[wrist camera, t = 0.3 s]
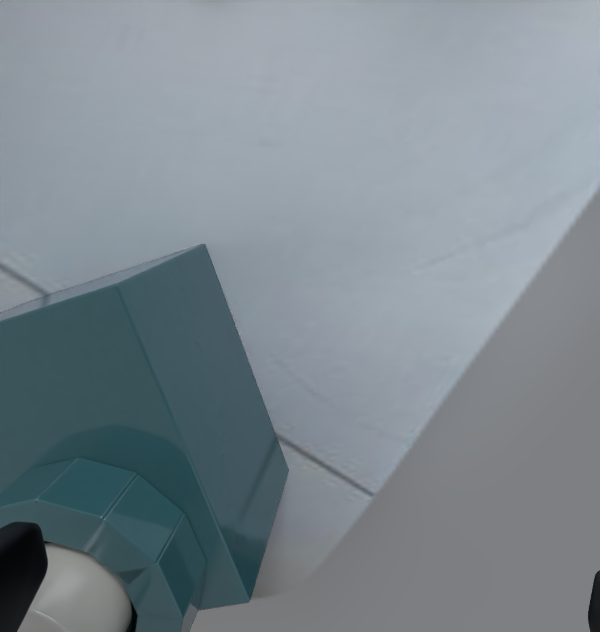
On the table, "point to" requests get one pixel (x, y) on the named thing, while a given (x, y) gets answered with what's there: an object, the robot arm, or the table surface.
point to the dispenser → (141, 436)
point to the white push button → (78, 596)
